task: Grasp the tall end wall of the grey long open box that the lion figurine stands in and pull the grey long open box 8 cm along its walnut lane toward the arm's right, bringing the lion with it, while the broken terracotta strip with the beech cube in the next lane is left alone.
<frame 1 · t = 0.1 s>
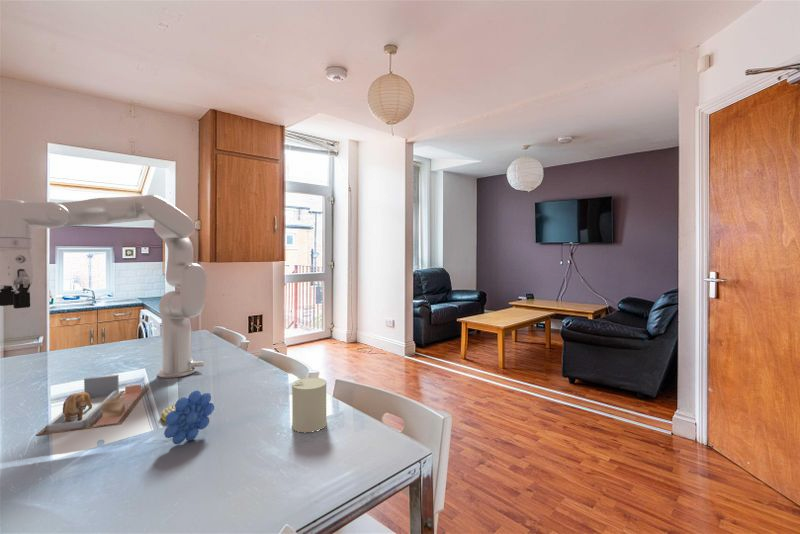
hand: (14, 306, 104), 31 cm above the table, tool pointing down, fingers open, 9 cm apart
can: (309, 426, 101), on the table
broken strip: (121, 409, 111), resting in lane rails
lion figurine: (79, 421, 104), resting in grey long open box
lane rails: (100, 411, 109), on the table
grey long open box: (86, 401, 108), point 4 cm above the table, slide at 0.0 cm
cube: (114, 414, 105), point 1 cm above the table, touching broken strip
grapes: (189, 439, 93), on the table
decorated donut: (184, 419, 105), on the table
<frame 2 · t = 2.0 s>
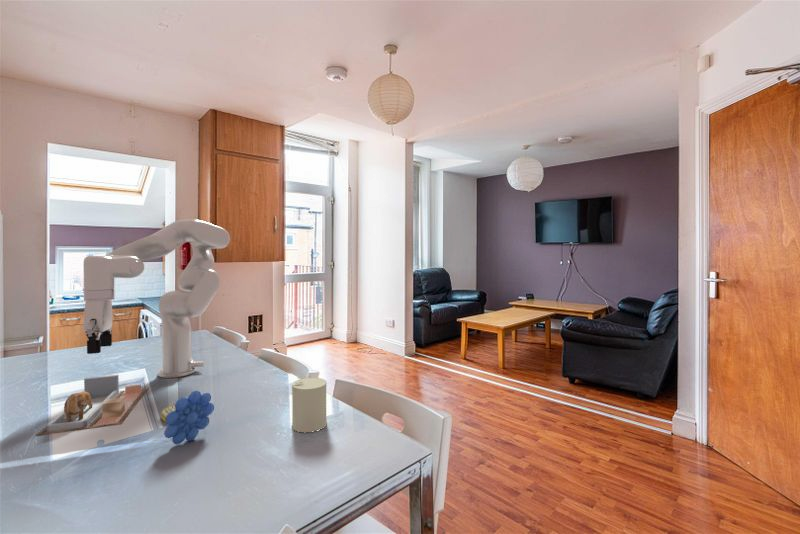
hand: (100, 349, 118), 16 cm above the table, tool pointing down, fingers open, 9 cm apart
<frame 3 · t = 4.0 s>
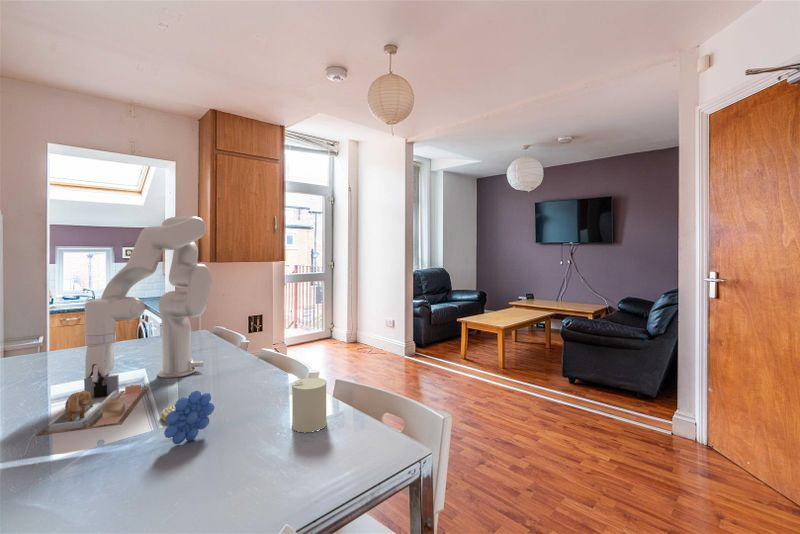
hand: (102, 396, 119), 1 cm above the table, tool pointing down, fingers closed
grey long open box: (86, 401, 108), point 4 cm above the table, slide at 0.0 cm, touching gripper
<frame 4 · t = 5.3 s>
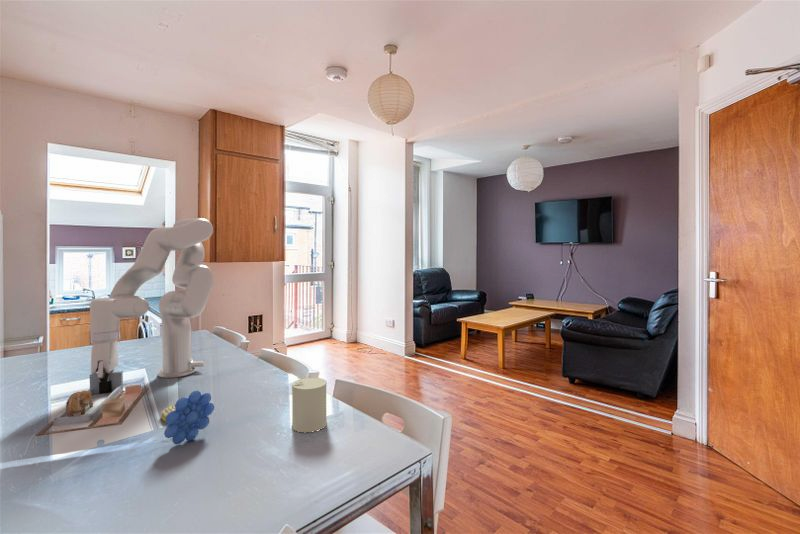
hand: (106, 391, 123), 1 cm above the table, tool pointing down, fingers closed
grey long open box: (92, 396, 112), point 4 cm above the table, slide at 4.2 cm, touching gripper
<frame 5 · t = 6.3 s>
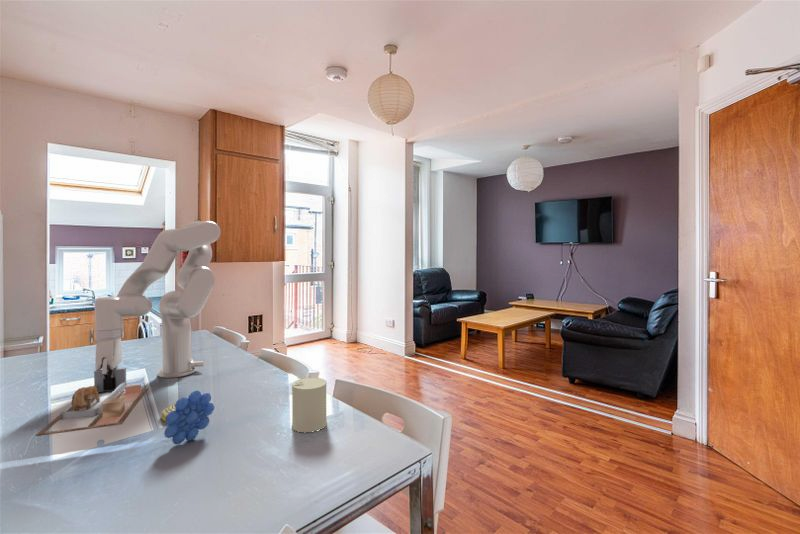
hand: (110, 388, 126), 1 cm above the table, tool pointing down, fingers closed
lion figurine: (88, 413, 108), resting in grey long open box
grey long open box: (97, 392, 115), point 4 cm above the table, slide at 8.0 cm, touching gripper
everything else where it was.
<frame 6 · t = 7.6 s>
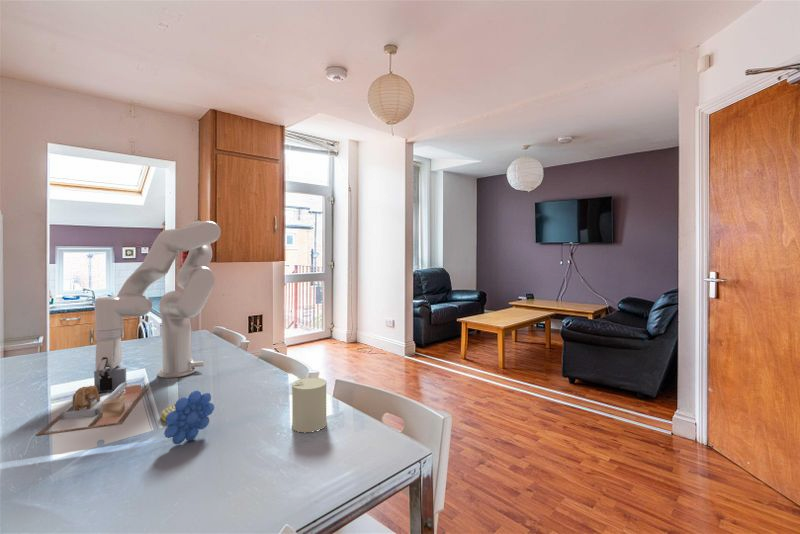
hand: (110, 385, 126), 2 cm above the table, tool pointing down, fingers open, 7 cm apart
grey long open box: (97, 392, 115), point 4 cm above the table, slide at 8.0 cm
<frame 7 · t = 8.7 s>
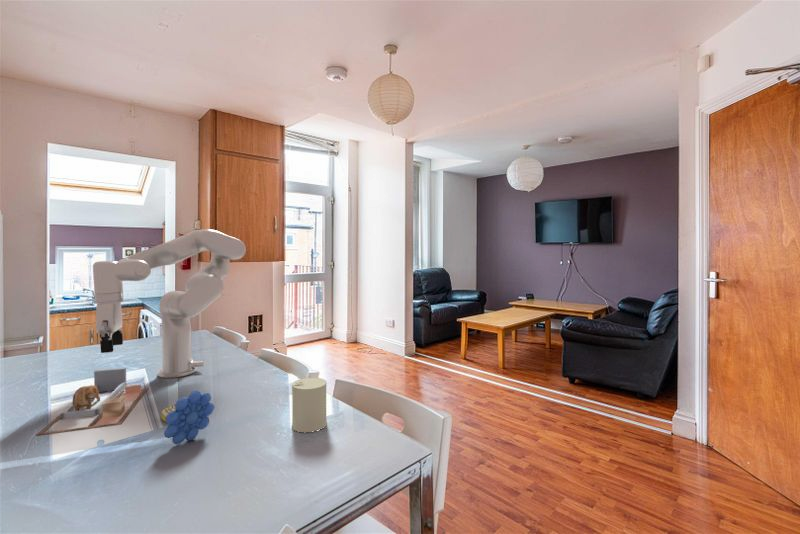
hand: (112, 348, 127), 14 cm above the table, tool pointing down, fingers open, 9 cm apart
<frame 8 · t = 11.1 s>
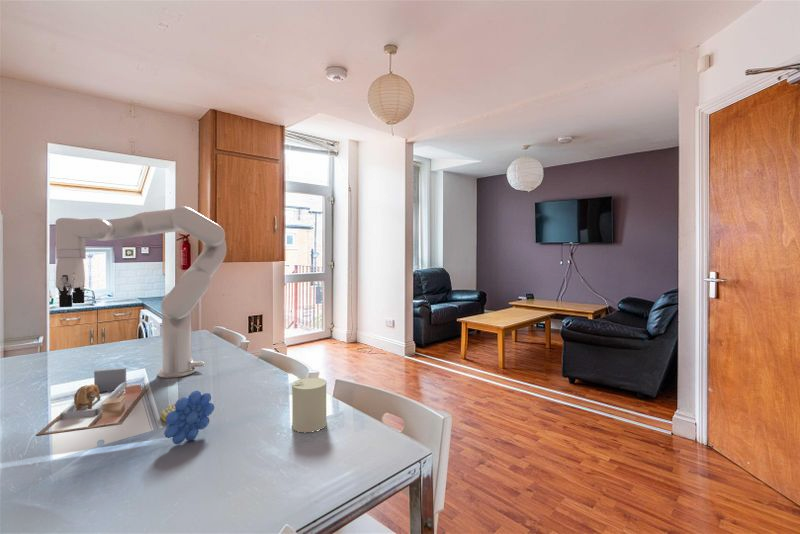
hand: (72, 305, 128), 28 cm above the table, tool pointing down, fingers open, 9 cm apart
at the end: grey long open box slide at 8.0 cm; lion figurine inside the target area (0.7 cm from its centre), resting in grey long open box; lion figurine tilted 0° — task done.
